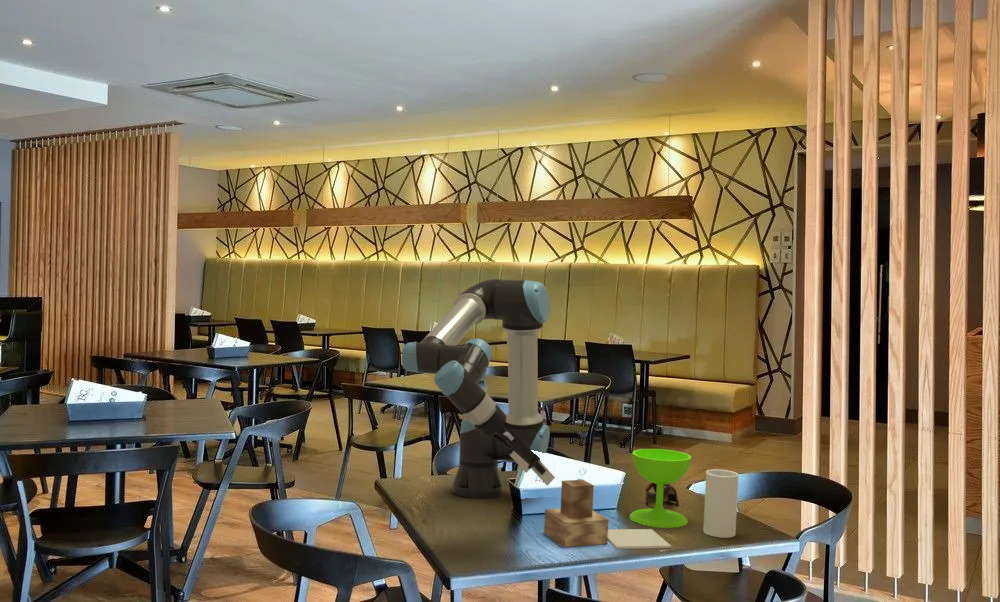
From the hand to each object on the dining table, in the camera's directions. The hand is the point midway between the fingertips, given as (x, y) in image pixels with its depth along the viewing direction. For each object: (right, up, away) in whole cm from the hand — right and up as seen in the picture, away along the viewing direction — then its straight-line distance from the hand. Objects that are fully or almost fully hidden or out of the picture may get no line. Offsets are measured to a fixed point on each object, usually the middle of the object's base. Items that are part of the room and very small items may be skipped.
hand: (539, 474), depth 218 cm
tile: (+24, -17, +5) cm, 30 cm away
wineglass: (+34, -17, +25) cm, 45 cm away
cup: (+48, -18, +14) cm, 53 cm away
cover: (+9, -17, +4) cm, 20 cm away
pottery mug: (+38, -17, +42) cm, 59 cm away
